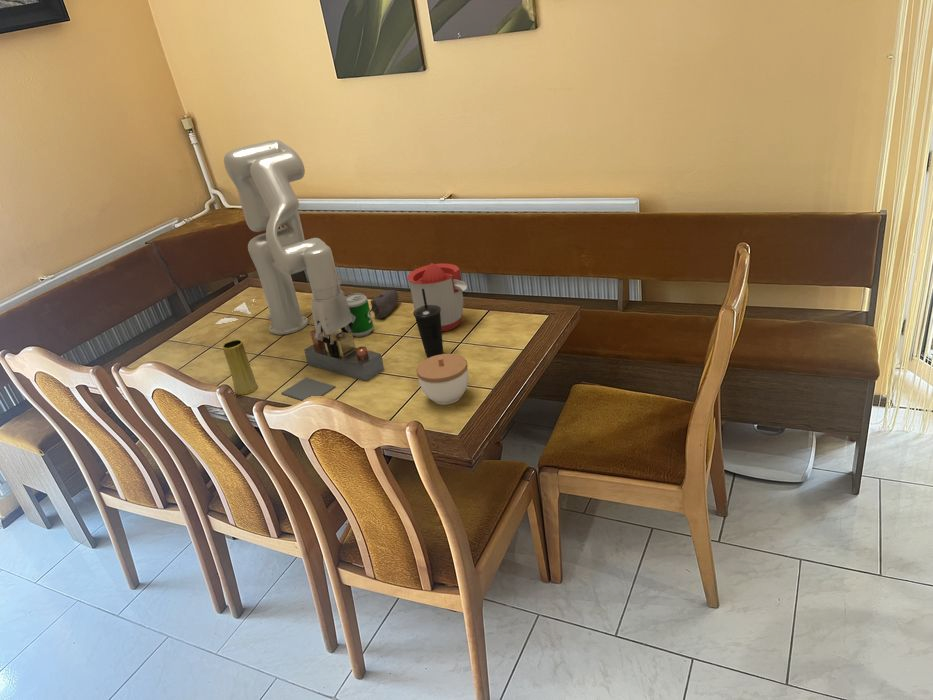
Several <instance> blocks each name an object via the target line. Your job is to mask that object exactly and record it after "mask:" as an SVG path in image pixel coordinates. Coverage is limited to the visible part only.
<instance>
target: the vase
mask: <svg viewBox="0 0 933 700" xmlns="http://www.w3.org/2000/svg"><path fill="white" fill-rule="evenodd" d="M222 350H223V353H224V356H225V359H226V363H227V365H228V368H229V371H230V373H231V378H232V382H233V383H232V384H233V388H234V391H235V394H237V395H242V396H244V394H245V395H249V394H252V393H253V392H254V391H256V390H257V389H258V388H259V387H258V384H257V381H256V378H255V375H254V372H253V369H252V367H251V364H250V361H249V357H248V355H247V353H246V349H245V347H244V343H243V341H242V340H241V339H232V340H229V341H226V342H225V343H223V345H222Z"/></svg>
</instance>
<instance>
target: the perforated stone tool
mask: <svg viewBox="0 0 933 700" xmlns="http://www.w3.org/2000/svg"><path fill="white" fill-rule="evenodd" d="M398 302H399V293H398V291H397V290H395V289H388V290H386V291H383V292H382V293H380V294H378V295H376V296H375V297H374V298H372V299H371V300H370V305H371V310H370V311H372V312H371V313H373V315H374V317H375V318H378V319H383V318H385V317H387V316H388V315H389V314H390V313H392V311H394V309H395V308H396V306H397V304H398Z"/></svg>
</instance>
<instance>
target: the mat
mask: <svg viewBox="0 0 933 700" xmlns="http://www.w3.org/2000/svg"><path fill="white" fill-rule="evenodd" d="M334 389H336V385H333V384H329V383H326V382H323V381H321V380H320V381H318V380H316V379H312V378H309V377H305V378H302V379H301V380H299V381H297V382H296V383H295V384H293V385H291V386H290V387H288V388H287V389H285V390H283V391H281V392H280V394H281V395H283V396H287V397H288V398H289V397H290V398H292V399H295V400H298V401H301V402H303V401H302V400H304V399H306V398H308V397H311V396H322V397H323V396H324V395H327V394H328V393H329V392H331V391H332V390H334Z"/></svg>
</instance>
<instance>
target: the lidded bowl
mask: <svg viewBox="0 0 933 700" xmlns="http://www.w3.org/2000/svg"><path fill="white" fill-rule="evenodd" d="M468 368H469V367H468V360H467V359H466V358H465V357H464V356H462V355H460V354H455V353H443V354H441V355H436V356H432V357H430V358H427V357H426V358H425V359H424V360H422V361H421V362H420V363H419V364H418V365H417V367H416V368H415V369H416V375H417V378H418V383H419V384H420V389H421V390H422V392H423V393H424V395H425V396H426V397H427V399H430V400H431V401H433V402H434V403H435V404H437V405H440V406H441V405H443V406H445V405H446V406H447V405H451V404H455V403H457V402H458V401H459V400H460V399H461V398H462V396H463V395H464V393H465V392H466V391H467V388H468V383H469V370H468Z"/></svg>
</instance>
